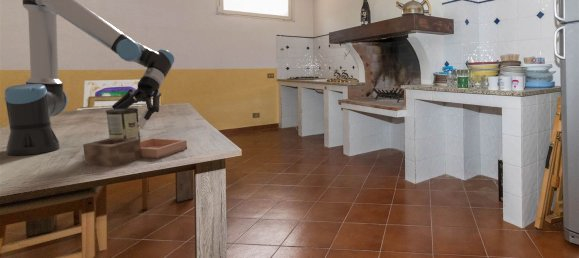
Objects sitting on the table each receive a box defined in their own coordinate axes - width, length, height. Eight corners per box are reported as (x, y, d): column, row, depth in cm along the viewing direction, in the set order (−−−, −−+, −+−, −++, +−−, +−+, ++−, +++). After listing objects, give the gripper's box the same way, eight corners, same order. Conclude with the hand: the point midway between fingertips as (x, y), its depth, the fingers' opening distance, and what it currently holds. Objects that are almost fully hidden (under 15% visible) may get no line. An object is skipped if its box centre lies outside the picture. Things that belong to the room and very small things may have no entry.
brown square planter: (85, 163, 103) (83, 144, 102) (115, 155, 114) (113, 137, 113) (113, 166, 100) (111, 146, 99) (141, 157, 110) (139, 139, 109)
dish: (120, 155, 113) (120, 146, 113) (153, 145, 127) (152, 138, 127) (157, 158, 108) (156, 149, 108) (186, 148, 122) (186, 140, 122)
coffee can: (120, 144, 130) (117, 108, 128) (146, 145, 129) (143, 107, 127) (103, 151, 120) (99, 111, 118) (131, 151, 119) (127, 111, 117)
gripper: (120, 75, 136) (91, 118, 125) (172, 74, 128) (146, 120, 117) (131, 88, 142) (105, 130, 131) (182, 88, 134) (158, 132, 122)
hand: (124, 125), depth 124 cm, fingers open, 13 cm apart
